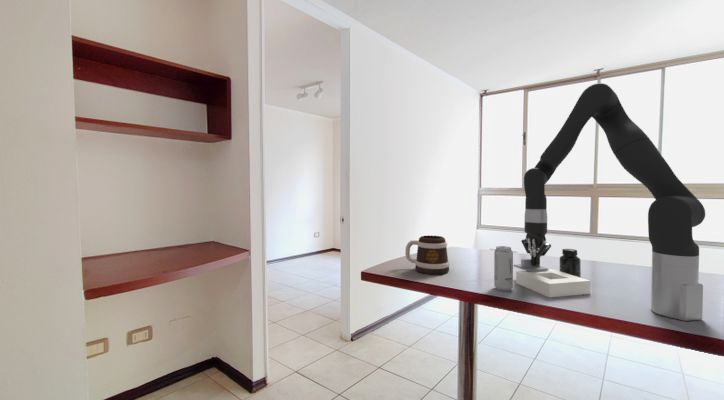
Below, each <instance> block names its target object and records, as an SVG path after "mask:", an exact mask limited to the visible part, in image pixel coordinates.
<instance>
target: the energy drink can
mask: <svg viewBox="0 0 724 400" xmlns="http://www.w3.org/2000/svg"><path fill="white" fill-rule="evenodd" d="M493 253H494V255H493V257H494V261H493V262H494V263H493V264H494V265H493V267H494V269H493V270H494V271H493V273H494V275H493V276H494V279H493V281H494V284H493V285H494V287H495V289H496V290H498V291H501V292H502V291H503V292H511V291H512V289H513V287H514V286H513V285H514V252H513V249H512V247H511V246H508V245H507V246H506V245H498V246H495V249H494V252H493Z"/></svg>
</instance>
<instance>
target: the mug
mask: <svg viewBox="0 0 724 400" xmlns="http://www.w3.org/2000/svg"><path fill="white" fill-rule="evenodd" d="M413 245H417V249H416V250H417V252H416V258H413V257H411V255H410V254H411V247H412V246H413ZM447 247H448V242H447V241H446V238H445V237H443V236H440V235H422V236H420V237H419V238H418V240H415V239H414V240H410V241H409V242H407V244H406V246H405V251H404V252H405V258H406V260H407V261H408V262H410V263H411V264H415V270H416V271H417V272H418V273H421V274H425V275H438V276H439V275H444V274H447V273H448V272H450V264H451V263H450V261H449V258H448V249H447Z"/></svg>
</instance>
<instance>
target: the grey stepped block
mask: <svg viewBox="0 0 724 400" xmlns="http://www.w3.org/2000/svg"><path fill="white" fill-rule="evenodd" d="M514 267H515V268H517V269H520V270H522V271H529V272H530V271H545V270H548V269H549V268H547V267H544V266H542V265H541V264H540V265H539V266H538V267H535V266H532V264H531V258H521V261H520V264H518V263H517V264H513V268H514Z"/></svg>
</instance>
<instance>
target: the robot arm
mask: <svg viewBox="0 0 724 400" xmlns="http://www.w3.org/2000/svg"><path fill="white" fill-rule="evenodd" d="M591 118H593V119H594V121H595V122H596V123H597V124H598V126H600V128H601V129H602V130H603V132H604V134H605V136H606V140H607V142H608V145H609V147H610V149H611V151H612V153H613V155H614V156H615V158H616V160H617V161H618V162H619V164H620V165H621V166H622V168H623V169H624V170H625V171H626V172H627V173H628V174H629V175H631V176H632V177H633V178H634V179H636V180H637V181H638V182H639V183H641V184H642V186H644V187H646V188H647V190H648V191H649V192H650V193H651V195H652V197H654V201H653V202H651V204H650V205H649V207H648V213H647V225H648V227H647V228H648V231H647V232H648V239H649V242H650V245H651V247H652V249H651V281H650V282H651V287H650V288H651V291H650V292H651V293H650V296H651V297H650V299H651V300H650V302H651V303H650V310H651V311H652V312H654V314H658V315H659V316H662V317H663V316H664V317H667V318H669V319H670V318H671V319H674V320H675V319H676V320H680V321H683V322H689V321H697V320H703V309H704V308H703V307H704V306H703V305H704V304H703V303H704V285H703V284H702V283H699V279H700V278H699V269H700V268H699V267H700V246H699V245H698V244H697V243H696V242H695V241H694V239H693V228H694V227H697V226H699V225H701V224H702V223H703V221H704V220H705V217H706V209H705V207H704V205H703V204H702V202H701V201H700V200H699V199H698V198H697V197H696V196H695V195H694V193H693V192H691V191H690V190H689V188H687V187H686V186H685V184H684V183H682V181H681V179H679V178H678V177H677V176H676V174H675V172H674V171H673V170H672V168H671V166H670V165H669V164H668V162H667V161H666V159H665V158H664V157H663V155H662V154H661V153H660V151H659V149H658V148H657V147H656V145H655V144H654V143H653V141H652V140H651V139H650V137H649V136H648V135H647V134H646V133H645V132H644V130H643V129H642V128H641V127H639V125H638V124H636V123H635V122H634V121H633V120H632V119H631V118H630V117H629V115H628V114H627V112H626V110H625V109H624V107H623V105H622V103H621V101H620V99H619V97H618V94H617V93H616V92H615V91H614V90H613V88H612V87H611V86H609V85H608V84H606V83H601V82H599V83H594V84H592V85H589V86H588V87H586V89H584V90H583V92H582V93H581V94H580V95H579V97H578V99H577V101H576V103H575V105H574V107H573V108H572V110H571V112H570V114H569V115H568V117H567V118H566V120H565V121H564V123H563V125H562V126H561V128H560V130H559V131H558V133H557V134H556V135H555V137H554V138H553V140H552V141H551V142H550V143H549V145H548V146H547V147H546V148H545V150H544V151H543V152H542V154H541V155H540V158H539V161H538V162H537V164H536V165H535V166H534V167H532V168H530V169H528V170H527V171H525V173H524V175H523V187H524V194H525V195H524V196H525V211H524V233H525V234H526V235H525V238H524V239H521V243H522V246H523V248H524V250H525V252H526V253H527V254H529V256H530V259H531V264H532V266H535V267H538V266H539V265H540V266H541V257H544V256H546V254H547V253H548V251H549V250H550V248H551V247H552V244H550V243H548V242H547V238H546V234H548V210H547V205H548V204H547V195H546V194H545V191H546V189H545V185H546V184H547V183H548V182H549V180H550V179H551V177H552V176H553V175H554V173H555V172H556V170H557V169H558V167H559V166H560V165H561V164H562V162H563V161H564V160H565V159H566V158H567V156H568V155H570V153H571V151H572V150H573V148H574V147H575V145H576V142H577V141H578V138H579V136H580V134H581V132H582V130H583V129H584V127H585V126H586V124H587V123H588V122H589V121H590V119H591Z"/></svg>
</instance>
